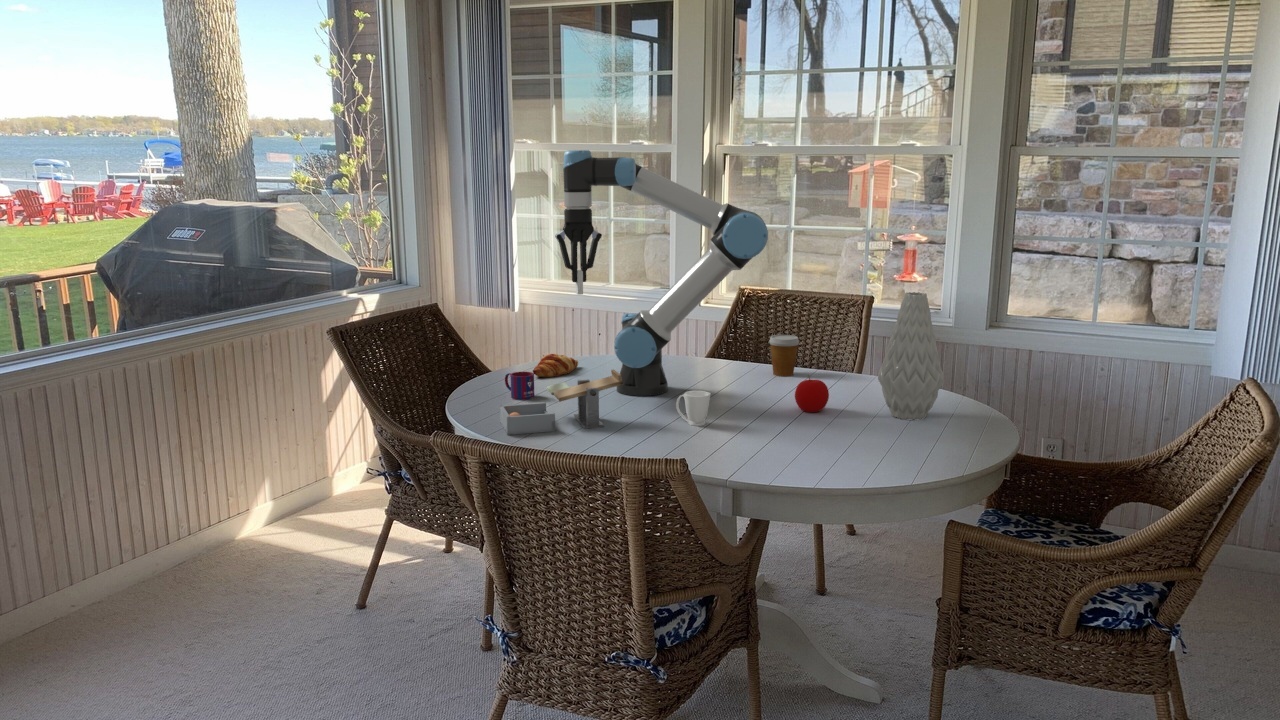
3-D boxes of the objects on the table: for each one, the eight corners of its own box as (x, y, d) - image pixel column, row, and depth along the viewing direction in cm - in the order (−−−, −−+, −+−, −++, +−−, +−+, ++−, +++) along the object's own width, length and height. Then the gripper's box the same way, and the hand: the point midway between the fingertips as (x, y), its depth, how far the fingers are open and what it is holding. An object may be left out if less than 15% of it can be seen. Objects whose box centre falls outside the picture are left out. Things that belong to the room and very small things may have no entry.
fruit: (803, 404, 266) (804, 369, 264) (833, 409, 261) (835, 373, 258) (788, 411, 258) (789, 375, 256) (819, 416, 253) (820, 380, 251)
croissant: (570, 376, 317) (561, 354, 317) (591, 365, 311) (582, 343, 312) (528, 387, 300) (519, 364, 300) (550, 376, 294) (540, 352, 294)
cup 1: (521, 401, 270) (520, 377, 269) (499, 395, 277) (498, 372, 276) (539, 396, 275) (538, 373, 274) (517, 391, 282) (516, 368, 281)
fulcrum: (592, 415, 255) (591, 378, 253) (603, 426, 244) (603, 388, 242) (573, 416, 254) (573, 380, 252) (584, 428, 242) (583, 390, 240)
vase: (872, 421, 249) (878, 296, 242) (879, 405, 264) (885, 288, 257) (939, 427, 243) (948, 299, 236) (943, 411, 258) (951, 290, 252)
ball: (515, 408, 244) (503, 416, 244) (517, 411, 241) (506, 419, 240) (523, 419, 245) (511, 427, 245) (525, 422, 242) (513, 430, 242)
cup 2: (700, 429, 242) (700, 398, 240) (668, 422, 248) (668, 392, 246) (715, 423, 247) (716, 392, 246) (684, 416, 253) (685, 387, 252)
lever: (608, 373, 259) (607, 364, 258) (622, 384, 246) (621, 374, 245) (546, 389, 255) (544, 380, 254) (557, 402, 242) (555, 392, 241)
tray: (545, 418, 252) (545, 402, 251) (555, 431, 240) (554, 413, 239) (500, 422, 248) (499, 405, 247) (507, 435, 237) (507, 417, 236)
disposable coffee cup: (800, 377, 298) (801, 339, 296) (769, 377, 298) (770, 339, 296) (796, 371, 308) (797, 334, 305) (766, 371, 308) (767, 334, 305)
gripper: (597, 206, 266) (598, 291, 270) (551, 207, 262) (553, 293, 267) (604, 208, 259) (605, 294, 263) (557, 209, 255) (559, 296, 260)
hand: (579, 293), depth 265 cm, fingers closed
